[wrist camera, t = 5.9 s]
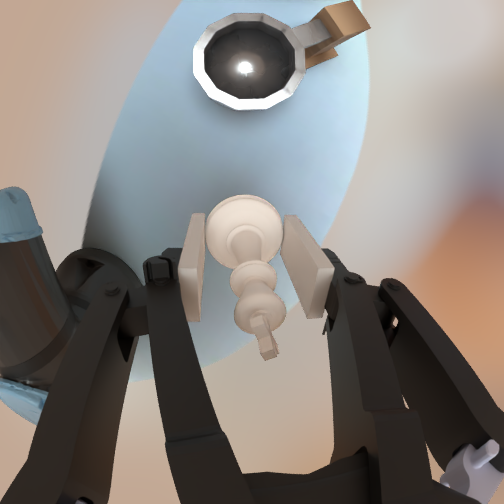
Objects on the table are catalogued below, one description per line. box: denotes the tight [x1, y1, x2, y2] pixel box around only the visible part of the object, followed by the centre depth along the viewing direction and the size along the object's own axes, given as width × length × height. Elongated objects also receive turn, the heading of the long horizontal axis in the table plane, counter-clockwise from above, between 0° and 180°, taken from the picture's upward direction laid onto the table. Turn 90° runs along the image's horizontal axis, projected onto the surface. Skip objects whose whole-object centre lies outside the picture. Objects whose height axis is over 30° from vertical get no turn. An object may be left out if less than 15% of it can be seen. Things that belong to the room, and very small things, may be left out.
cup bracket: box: [193, 13, 332, 111], centre depth 18 cm, size 14×9×3 cm, turn 121°
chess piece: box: [205, 195, 286, 361], centre depth 13 cm, size 5×5×10 cm
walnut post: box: [305, 0, 371, 69], centre depth 19 cm, size 5×5×12 cm
